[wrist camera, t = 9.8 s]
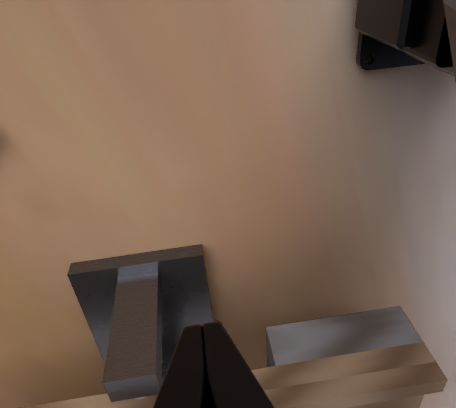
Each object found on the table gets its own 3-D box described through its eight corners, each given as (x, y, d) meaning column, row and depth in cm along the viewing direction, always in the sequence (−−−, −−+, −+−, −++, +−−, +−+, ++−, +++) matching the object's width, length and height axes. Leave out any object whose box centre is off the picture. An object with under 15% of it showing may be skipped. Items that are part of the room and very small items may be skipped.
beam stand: (201, 244, 24) (215, 356, 18) (221, 375, 32) (235, 486, 26) (71, 263, 24) (34, 386, 17) (123, 391, 32) (112, 510, 25)
